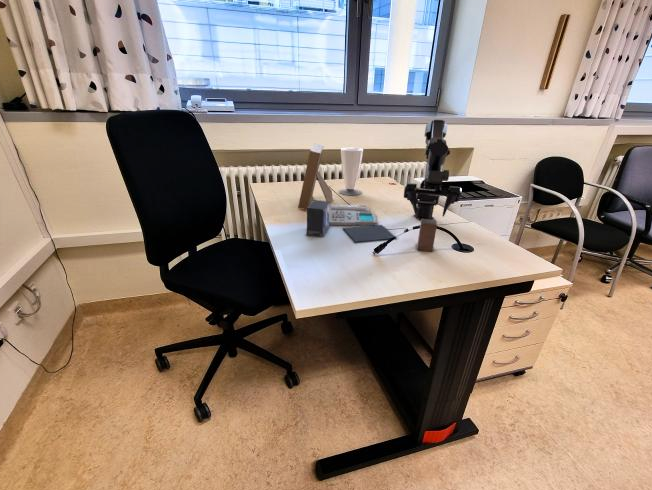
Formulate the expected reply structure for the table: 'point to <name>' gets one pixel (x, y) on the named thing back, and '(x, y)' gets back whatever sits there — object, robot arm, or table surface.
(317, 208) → the small box
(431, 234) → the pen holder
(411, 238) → the table surface
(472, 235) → the table surface
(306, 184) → the photo frame
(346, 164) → the cup
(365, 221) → the office telephone
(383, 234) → the desk pad
